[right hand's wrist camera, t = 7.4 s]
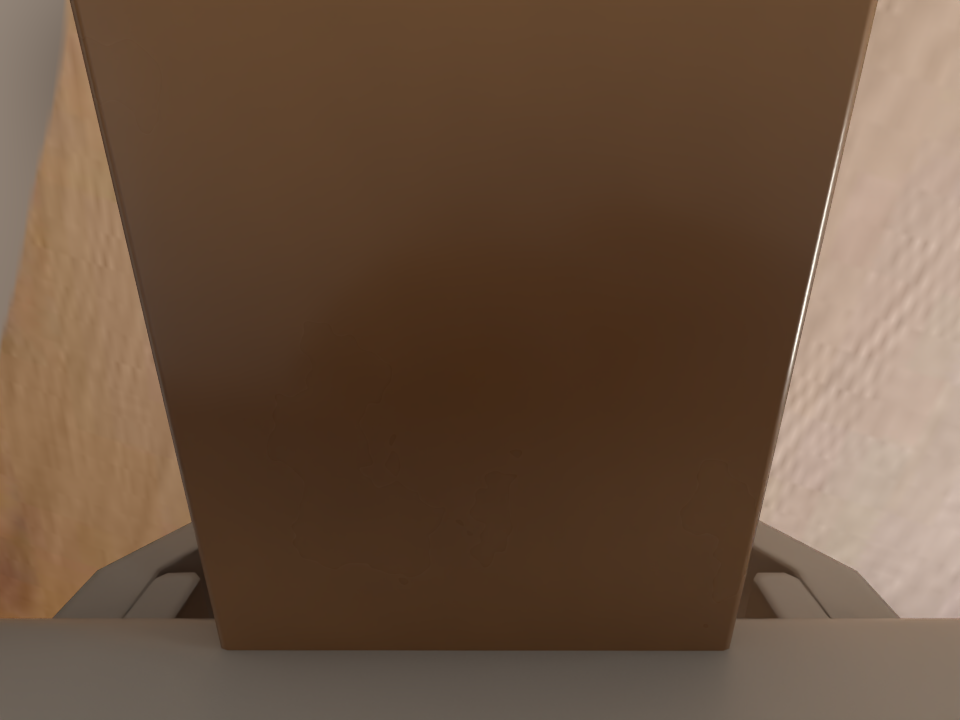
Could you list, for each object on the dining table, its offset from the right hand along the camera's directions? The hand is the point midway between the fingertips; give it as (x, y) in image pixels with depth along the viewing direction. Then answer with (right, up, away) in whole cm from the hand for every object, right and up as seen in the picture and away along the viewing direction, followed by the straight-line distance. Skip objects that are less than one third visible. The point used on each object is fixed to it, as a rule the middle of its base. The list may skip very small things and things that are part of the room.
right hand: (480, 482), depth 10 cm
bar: (0, +10, 0) cm, 10 cm away
